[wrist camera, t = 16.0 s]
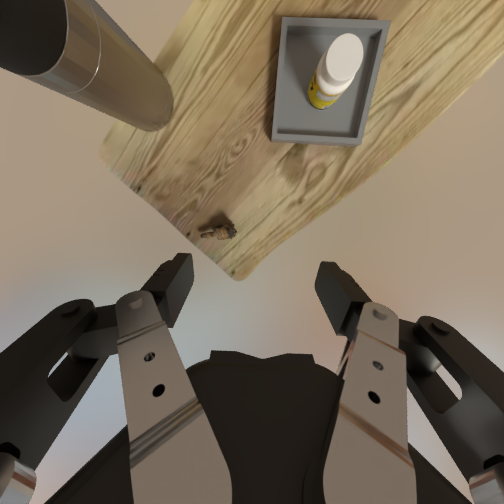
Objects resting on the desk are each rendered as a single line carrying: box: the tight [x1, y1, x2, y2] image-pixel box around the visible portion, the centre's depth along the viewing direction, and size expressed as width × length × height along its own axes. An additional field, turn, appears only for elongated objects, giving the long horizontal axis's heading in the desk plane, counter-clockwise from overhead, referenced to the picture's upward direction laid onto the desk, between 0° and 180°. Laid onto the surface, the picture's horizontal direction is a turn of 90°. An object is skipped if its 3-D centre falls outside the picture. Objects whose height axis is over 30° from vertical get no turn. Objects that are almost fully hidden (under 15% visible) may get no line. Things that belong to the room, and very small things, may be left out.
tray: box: [271, 17, 391, 147], centre depth 27 cm, size 14×14×2 cm
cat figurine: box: [201, 224, 237, 240], centre depth 35 cm, size 3×8×4 cm, turn 102°
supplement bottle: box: [307, 33, 363, 111], centre depth 24 cm, size 5×5×8 cm
